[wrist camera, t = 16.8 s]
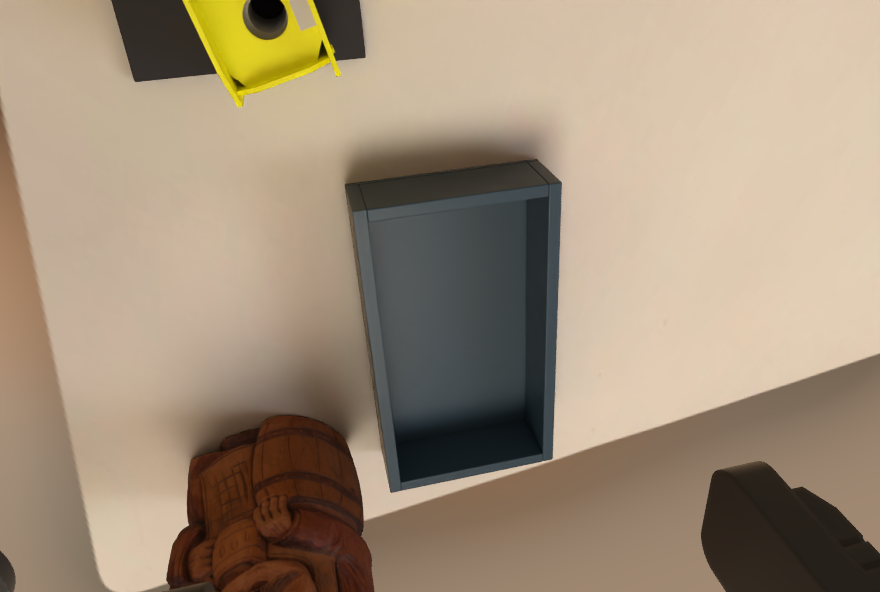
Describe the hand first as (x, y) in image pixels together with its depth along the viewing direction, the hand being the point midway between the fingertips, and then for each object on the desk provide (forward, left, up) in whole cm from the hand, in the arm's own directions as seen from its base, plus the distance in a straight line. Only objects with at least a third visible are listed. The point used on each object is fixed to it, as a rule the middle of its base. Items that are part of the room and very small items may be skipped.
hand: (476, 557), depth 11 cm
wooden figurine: (-8, -25, -32) cm, 42 cm away
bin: (+6, -16, -32) cm, 36 cm away
